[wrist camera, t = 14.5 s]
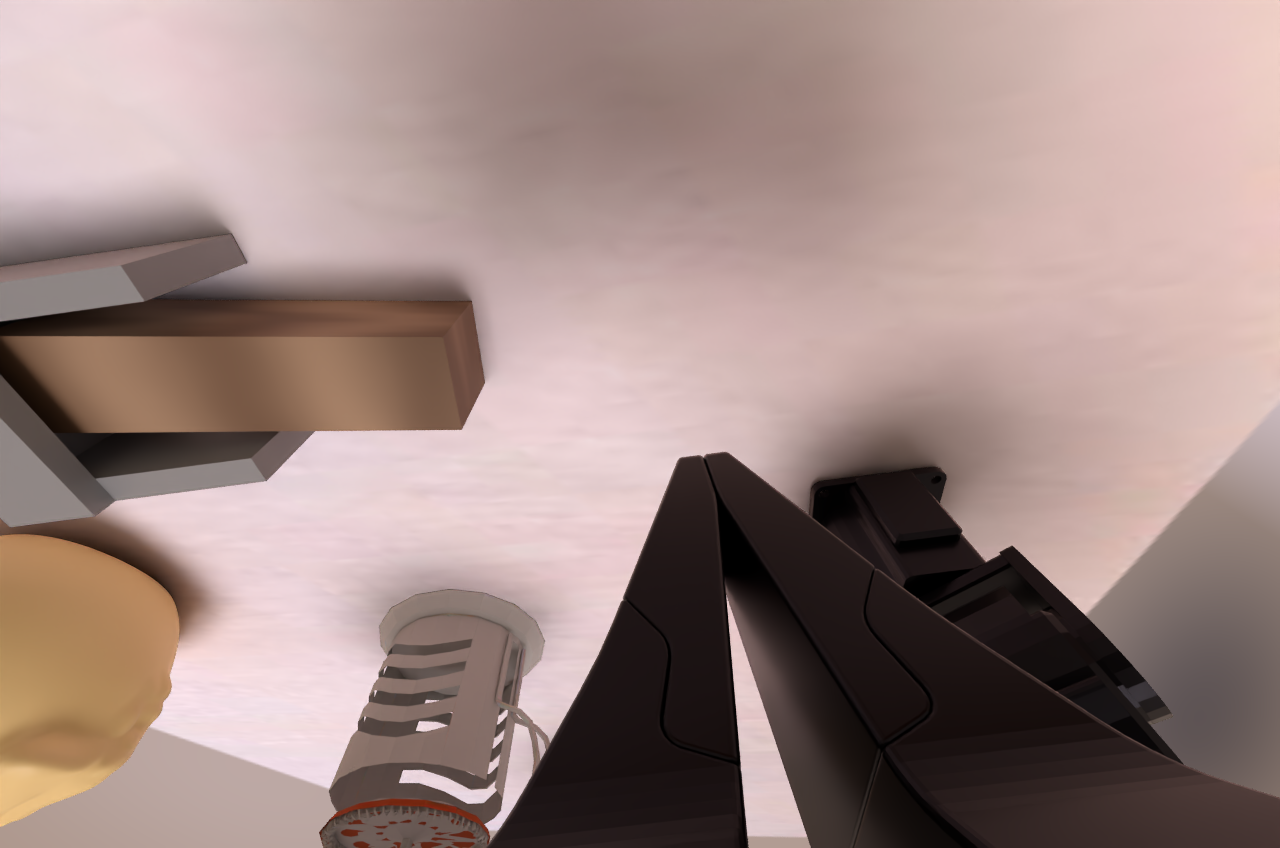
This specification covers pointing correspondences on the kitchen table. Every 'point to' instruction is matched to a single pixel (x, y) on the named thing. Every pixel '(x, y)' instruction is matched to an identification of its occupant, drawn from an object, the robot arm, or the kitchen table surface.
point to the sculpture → (75, 667)
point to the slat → (248, 366)
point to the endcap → (116, 462)
